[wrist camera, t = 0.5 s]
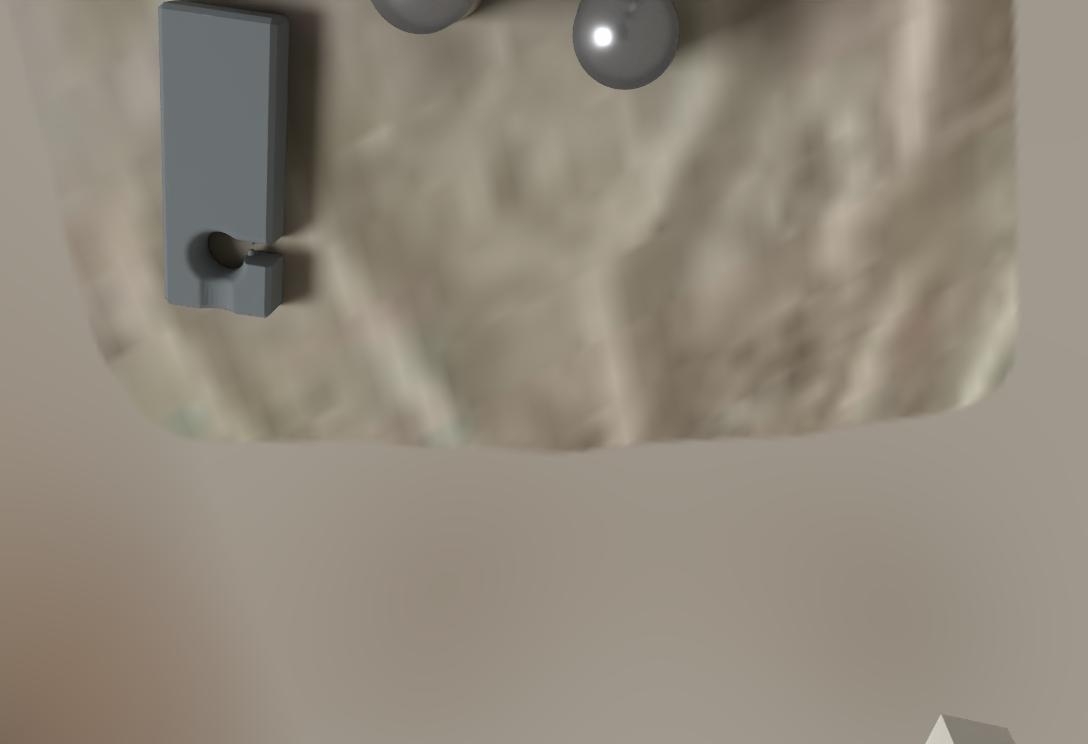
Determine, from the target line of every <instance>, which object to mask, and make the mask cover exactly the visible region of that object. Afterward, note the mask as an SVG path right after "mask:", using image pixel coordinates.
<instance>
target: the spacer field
mask: <svg viewBox="0 0 1088 744" xmlns="http://www.w3.org/2000/svg"><path fill="white" fill-rule="evenodd" d="M371 1H372V3H373V5H374V7H375V8H376V9H377V11H378V12H379V13H380V15H381V16H382V17H383V18H384V19H385V20H386V21H388V22H389V23H390V24H392V25H393V26H395V27H396V28H398V29H400V30H403V31H406V32H409V33H414V34H429V33H434V32H437V31H440V30H442V29H444V28H446V27H448V26H450V25H451V24H453V23H455V22H457V21H459V20H461V19H463V18H464V17H466V16H468V15H470V14H471V13H472V12H474V11H475V10H476V9H477V8H478V7H479V5H480V4H481V3H482V1H483V0H371ZM678 42H679V22H678V17H677V14H676V11H675V9H674V6H673V4H672V3H671V1H670V0H581V2H580V5H579V8H578V11H577V14H576V17H575V21H574V26H573V44H574V50H575V53H576V56H577V58H578V60H579V62H580V64H581V66H582V67H583V69H584V70H585V71H586V72H587V73H588V74H589V75H590V76H591V77H592V78H593V79H594V80H596V81H597V82H599V83H601V84H603V85H605V86H607V87H610V88H615V89H623V90H626V89H635V88H639V87H642V86H645V85H647V84H649V83H651V82H652V81H654V80H655V79H657V78H658V77H659V76H660V75H661V74H662V73H663V72H664V71H665V70H666V69H667V68H668V66H669V65H670V63H671V61H672V60H673V58H674V56H675V53H676V50H677V47H678Z"/></svg>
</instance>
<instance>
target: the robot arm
mask: <svg viewBox="0 0 1088 744" xmlns="http://www.w3.org/2000/svg"><path fill="white" fill-rule="evenodd" d="M926 744H1015V742H1014V740H1013V739H1012V737H1011V735H1010V733H1009V731H1008V729H1007V728H1003V727H999V726H994V725H989V724H985V723H980V722H975V721H971V720H967V719H962V718H957V717H953V716H948V715H943V714H941V715H940V717H939V719H938V721H937V723H936V725H935V727H934V729H933V730H932V732H931V734H930V736H929V738H928V740H927V742H926Z"/></svg>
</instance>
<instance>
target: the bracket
mask: <svg viewBox="0 0 1088 744" xmlns="http://www.w3.org/2000/svg"><path fill="white" fill-rule="evenodd" d="M158 15H159V59H160V102H161V146H162V189H163V233H164V276H165V299H166V300H167V301H168V302H169V303H170V304H174V305H181V306H187V307H194V308H220V309H225V310H229V311H232V312H234V313H236V314H242V315H249V316H256V317H263V318H266V317H267V316H269V315H270V314H271V313H272V312H273V311H274V310H275V309H276V308H277V307H278V306H279V305H280V303H281V302H282V285H283V255H279V254H273V253H266V252H259V251H255V250H253V249H250V250H249V251H248V255H247V256H246V257H245V259H244V263H243V265H242V266H241V267H240V268H237V269H231V268H227V267H224V266H222V265H221V264H219V263H218V262H217V261H216V260H215V259H214V258H213V257H212V255H211V253H210V251H209V248H208V238H209V235H210V234H211V233H212V232H216V231H219V232H224V233H226V234H228V235H230V236H231V237H233V238H234V239H237V240H240V241H246V242H248V243H249V244H250V245H253V244H255V243H260V244H267V245H271V244H273V243H274V242H275V241H277V240H278V239H279V238H280V237H281V236H282V235H283V233H284V212H285V175H286V138H287V101H288V64H289V27H290V22H289V21H288V20H287V18H286V17H285V16H284V15H278V14H271V13H264V12H257V11H250V10H244V9H237V8H230V7H223V6H216V5H209V4H203V3H196V2H189V1H182V0H175V1H168V2H164V3H163V4H161V5H160V6H159V7H158Z"/></svg>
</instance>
